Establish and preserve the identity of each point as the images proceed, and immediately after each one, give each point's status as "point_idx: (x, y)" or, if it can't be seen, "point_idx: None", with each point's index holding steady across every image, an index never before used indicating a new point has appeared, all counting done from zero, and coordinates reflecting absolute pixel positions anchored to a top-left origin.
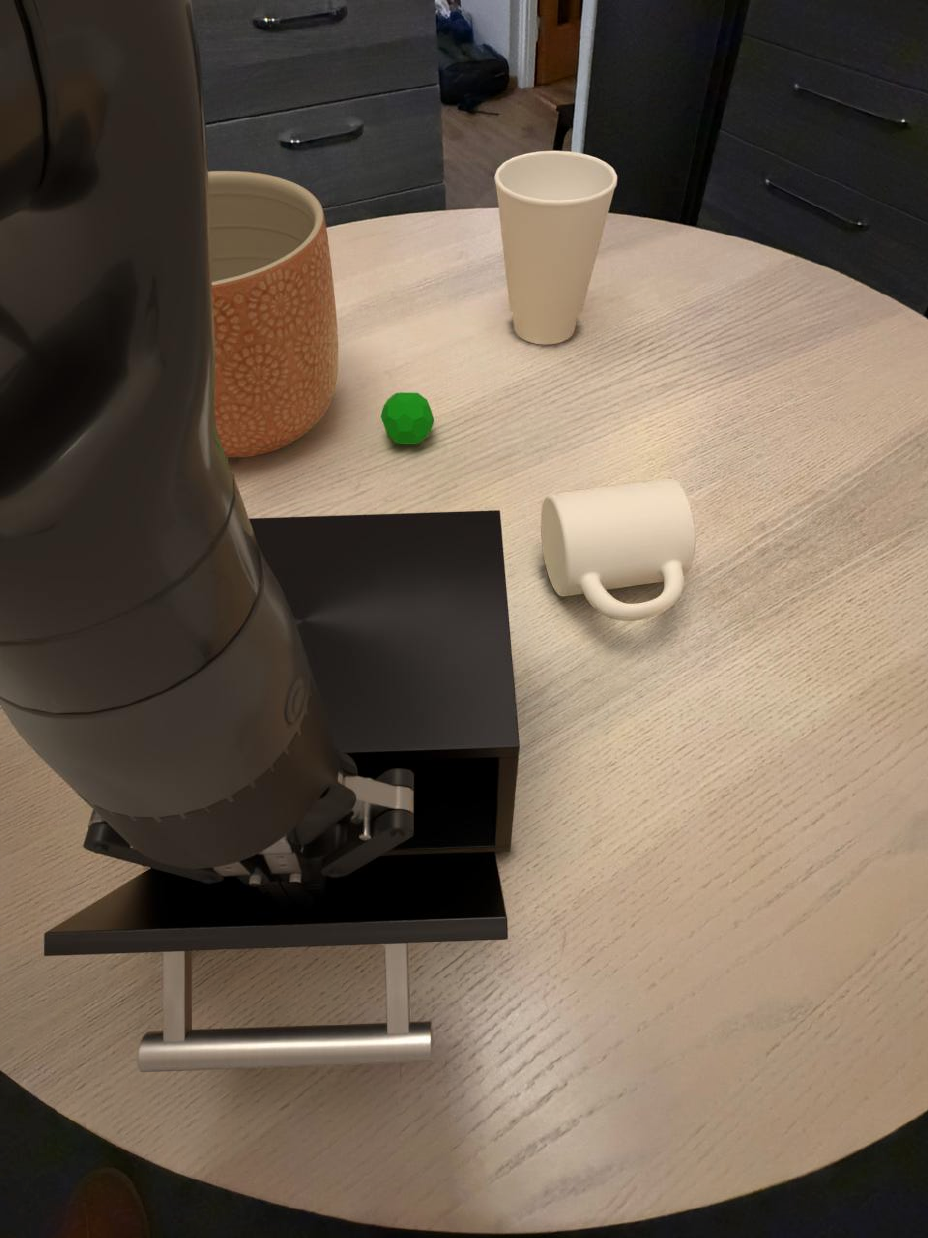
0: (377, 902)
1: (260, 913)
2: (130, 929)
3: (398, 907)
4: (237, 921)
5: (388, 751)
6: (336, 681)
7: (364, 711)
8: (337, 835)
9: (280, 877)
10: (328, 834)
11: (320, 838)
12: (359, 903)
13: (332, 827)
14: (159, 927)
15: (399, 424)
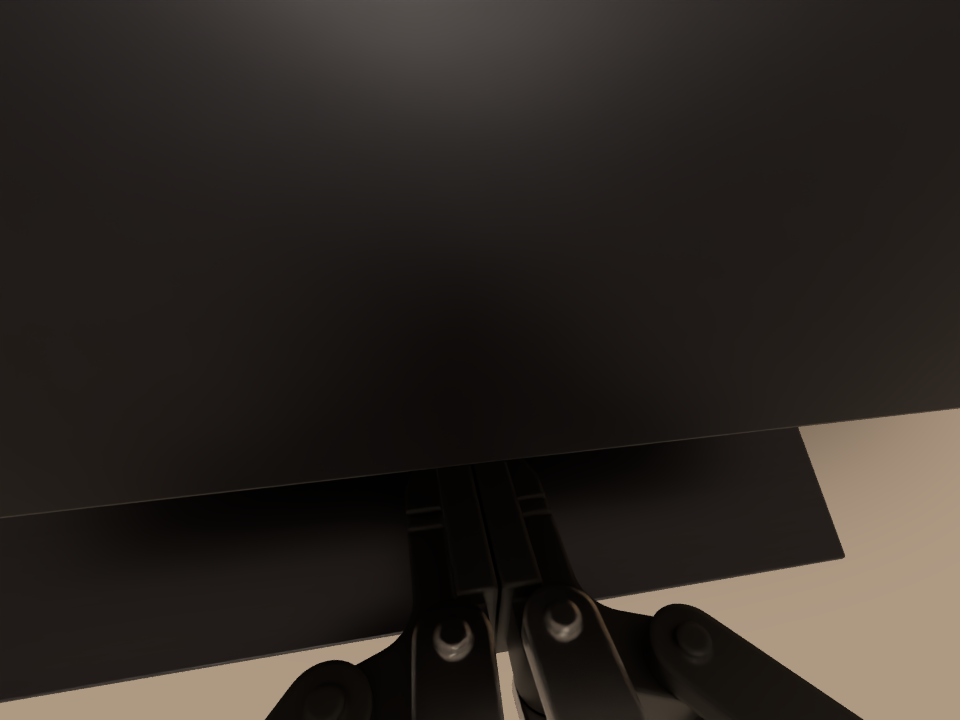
0: (609, 479)
1: (408, 553)
2: (155, 674)
3: (656, 510)
4: (378, 606)
5: (871, 416)
6: (825, 41)
7: (877, 263)
8: (696, 715)
9: (519, 714)
10: (672, 713)
11: (646, 714)
12: (579, 487)
13: (689, 710)
14: (220, 658)
15: None
